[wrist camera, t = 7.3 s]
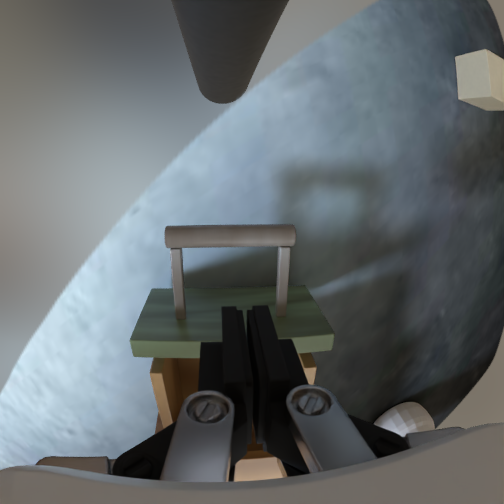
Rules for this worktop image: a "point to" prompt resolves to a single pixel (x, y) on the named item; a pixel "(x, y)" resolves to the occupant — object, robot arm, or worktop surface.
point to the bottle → (406, 419)
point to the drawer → (209, 313)
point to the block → (481, 79)
